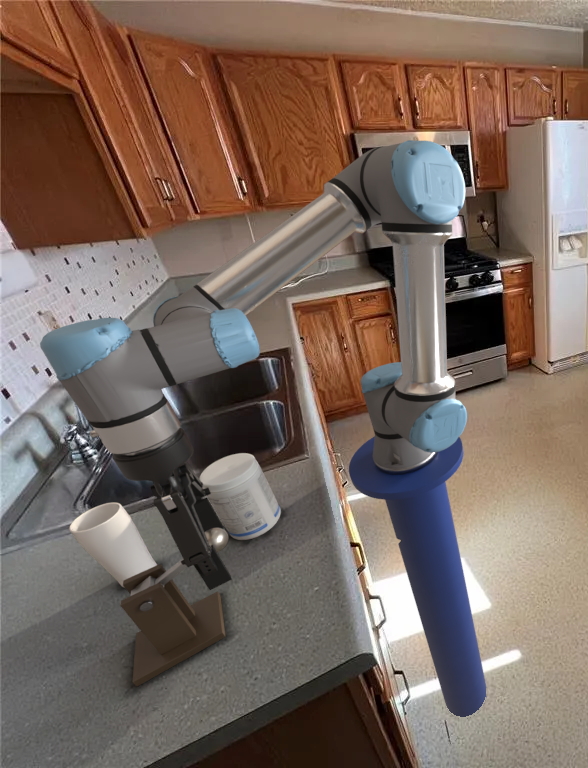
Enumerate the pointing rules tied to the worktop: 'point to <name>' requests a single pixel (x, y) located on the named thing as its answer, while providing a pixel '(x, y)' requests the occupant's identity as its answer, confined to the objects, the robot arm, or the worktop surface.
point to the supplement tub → (241, 496)
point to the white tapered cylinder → (112, 541)
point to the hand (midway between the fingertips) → (217, 555)
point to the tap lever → (214, 538)
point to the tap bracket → (169, 624)
